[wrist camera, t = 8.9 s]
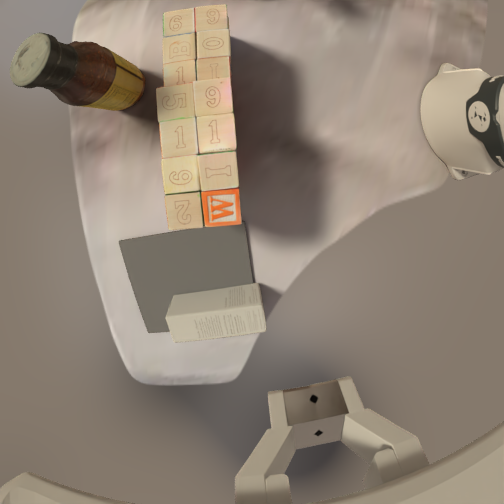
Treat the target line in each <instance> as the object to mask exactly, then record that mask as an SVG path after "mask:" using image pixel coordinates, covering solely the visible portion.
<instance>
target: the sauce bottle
mask: <svg viewBox="0 0 504 504" xmlns="http://www.w3.org/2000/svg"><path fill="white" fill-rule="evenodd" d="M10 77H11V79H12V81H13V83H14V84H15V85H16V86H20V87H25V88H34V87H44V88H46V89H49V90H50V91H51V92H53V93H54V94H55V95H56V96H57V97H58V98H59V100H61V101H62V102H64V103H67V104H69V105H73V106H83V107H92V108H99V109H107V110H124V109H127V108H129V107H131V106H132V105H134V104H135V103H136V102H137V101H139V99H140V98H141V96H142V94H143V92H144V88H145V78H144V76H143V74H142V73H141V72H140V70H139V69H138V68H137V67H136V66H135V65H133V64H132V63H130V62H129V61H127V60H125V59H124V58H122V57H120V56H119V55H117V54H115V53H114V52H112V51H110V50H109V49H107V48H105V47H102V46H100V45H98V44H97V43H94V42H77V41H74V42H72V43H70V44H63V43H60V42H58V41H57V39H56V38H55V37H53V36H52V35H49V34H45V33H37V34H34V35H32V36H30V37H29V38H27V39H26V40H25V41H24V42H23V43H22V44H21V45H20V47H19V48H18V50H17V51H16V53H15V55H14V58H13V60H12V62H11V67H10Z"/></svg>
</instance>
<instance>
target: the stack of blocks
mask: <svg viewBox="0 0 504 504" xmlns="http://www.w3.org/2000/svg"><path fill="white" fill-rule="evenodd" d="M163 36H164V37H163V78H164V87H159V88H156V98H157V113H158V122H159V128H160V140H161V152H162V159H161V165H162V174H163V183H164V192H165V194H166V195H165V204H166V213H167V221H168V228H169V230H178V229H192V228H203V226H205V227H216V226H229V225H239V224H242V221H241V208H240V195H239V178H238V166H237V151H236V150H237V142H236V130H235V119H234V111H233V96H232V86H231V77H232V68H231V47H230V30H229V18H228V16H227V5H226V4H225V5H212V6H202V7H196V8H190V9H183V10H177V11H171V12H165V13H163Z"/></svg>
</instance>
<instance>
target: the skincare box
mask: <svg viewBox="0 0 504 504" xmlns="http://www.w3.org/2000/svg"><path fill="white" fill-rule="evenodd" d="M166 321H167V324H168V327H169V330H170V333H171V336H172V338H173V341H174V342H175V343H177V342H188V341H198V340H207V339H215V338H224V337H231V336H238V335H246V334H253V333H259V332H265V331H266V329H267V328H266V320H265V313H264V307H263V301H262V295H261V290H260V286H259V284H258V283H253V284H247V285H240V286H234V287H228V288H221V289H215V290H208V291H201V292H194V293H186V294H179V295H174V296H173V299H172V301H171V303H170V304H169V308H168V312H167V315H166Z"/></svg>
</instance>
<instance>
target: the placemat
mask: <svg viewBox="0 0 504 504" xmlns="http://www.w3.org/2000/svg"><path fill="white" fill-rule="evenodd" d="M119 245H120V248H121V252H122V256H123V259H124V262H125V266H126V269H127V272H128V276H129V279H130V282H131V285H132V288H133V291H134V294H135V297H136V300H137V303H138V306H139V309H140V312H141V314H142V317H143V320H144V323H145V325H146V328H147V331H148V333H157V332H170V330H169V327H168V324H167V321H166V315H167V312H168V308H169V304H170V303H171V301H172V299H173V296H174V295H179V294H186V293H194V292H201V291H208V290H215V289H221V288H228V287H234V286H240V285H247V284H253V279H252V272H251V265H250V258H249V251H248V244H247V237H246V230H245V223H244V221H242V224H239V225H229V226H216V227H203V228H193V229H186V230H180V231H174V232H168V233H162V234H156V235H150V236H144V237H138V238H132V239H126V240H121V241H119Z"/></svg>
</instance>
